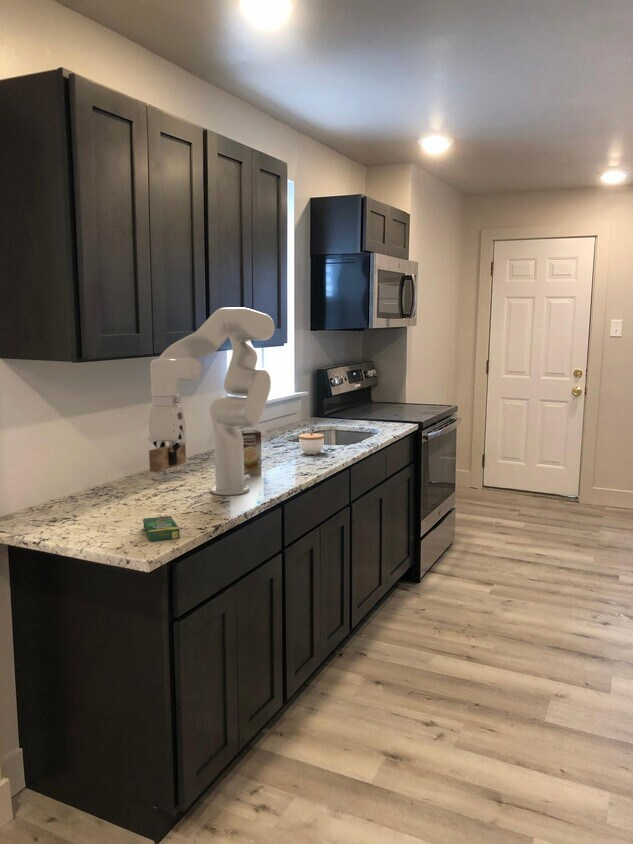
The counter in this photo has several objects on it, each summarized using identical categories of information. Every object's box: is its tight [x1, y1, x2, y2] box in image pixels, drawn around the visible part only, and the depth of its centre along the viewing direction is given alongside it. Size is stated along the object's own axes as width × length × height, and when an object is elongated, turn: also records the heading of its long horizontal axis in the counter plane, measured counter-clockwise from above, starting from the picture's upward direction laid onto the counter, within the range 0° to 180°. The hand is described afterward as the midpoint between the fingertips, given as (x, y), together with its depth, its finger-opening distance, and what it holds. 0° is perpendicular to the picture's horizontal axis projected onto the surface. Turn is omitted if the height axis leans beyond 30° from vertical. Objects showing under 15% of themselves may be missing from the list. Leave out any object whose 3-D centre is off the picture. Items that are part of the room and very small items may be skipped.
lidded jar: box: [298, 431, 325, 455], centre depth 288 cm, size 11×11×9 cm
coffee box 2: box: [240, 429, 263, 477], centre depth 249 cm, size 9×6×16 cm
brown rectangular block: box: [148, 444, 187, 473], centre depth 197 cm, size 14×2×6 cm, turn 156°
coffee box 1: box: [142, 515, 181, 542], centre depth 182 cm, size 8×3×13 cm
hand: (168, 463), depth 197 cm, fingers closed on brown rectangular block, 2 cm apart
